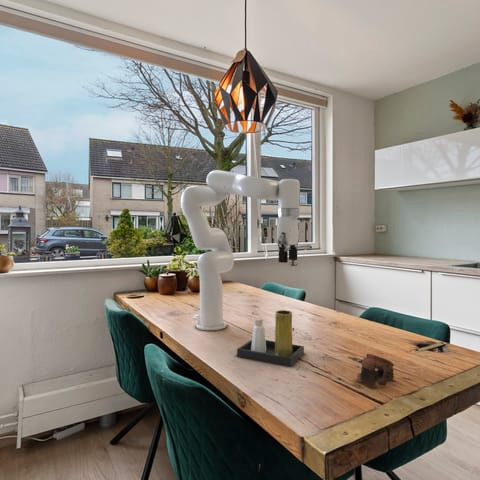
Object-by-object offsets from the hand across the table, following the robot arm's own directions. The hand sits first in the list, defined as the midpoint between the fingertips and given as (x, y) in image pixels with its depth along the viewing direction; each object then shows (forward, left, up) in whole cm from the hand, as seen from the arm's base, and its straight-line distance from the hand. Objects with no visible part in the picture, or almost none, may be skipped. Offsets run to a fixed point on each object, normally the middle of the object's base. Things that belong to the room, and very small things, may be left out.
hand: (288, 261), depth 130 cm
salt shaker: (-5, -15, -30) cm, 33 cm away
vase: (+4, -15, -30) cm, 33 cm away
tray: (0, -15, -30) cm, 33 cm away
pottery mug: (+34, -21, -30) cm, 50 cm away
